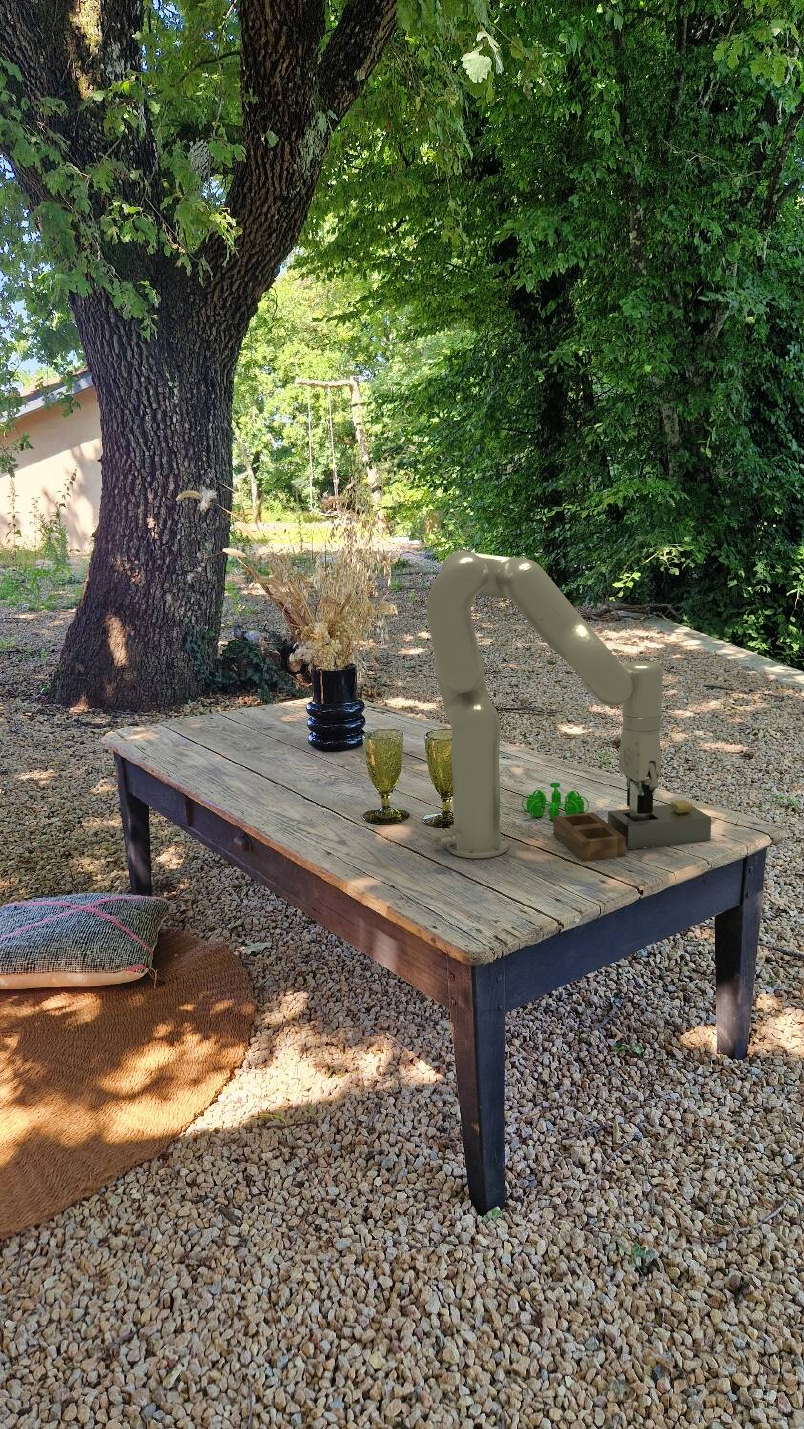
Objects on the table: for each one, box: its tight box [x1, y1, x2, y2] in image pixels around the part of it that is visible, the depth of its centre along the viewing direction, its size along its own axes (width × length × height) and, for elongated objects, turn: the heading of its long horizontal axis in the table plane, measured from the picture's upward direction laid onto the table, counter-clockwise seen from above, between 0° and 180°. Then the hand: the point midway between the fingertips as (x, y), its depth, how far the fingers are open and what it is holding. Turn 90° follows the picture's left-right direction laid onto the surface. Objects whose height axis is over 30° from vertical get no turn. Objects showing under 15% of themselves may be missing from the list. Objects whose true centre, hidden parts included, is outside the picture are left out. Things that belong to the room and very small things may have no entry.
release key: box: [669, 799, 693, 814], centre depth 188 cm, size 3×3×6 cm
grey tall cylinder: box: [629, 780, 650, 822], centre depth 186 cm, size 4×4×12 cm
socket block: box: [607, 804, 712, 851], centre depth 188 cm, size 18×10×5 cm, turn 101°
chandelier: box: [521, 782, 590, 820], centre depth 206 cm, size 15×15×7 cm
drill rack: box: [552, 811, 626, 863], centre depth 185 cm, size 9×16×4 cm, turn 11°
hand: (639, 808), depth 186 cm, fingers closed on grey tall cylinder, 4 cm apart
